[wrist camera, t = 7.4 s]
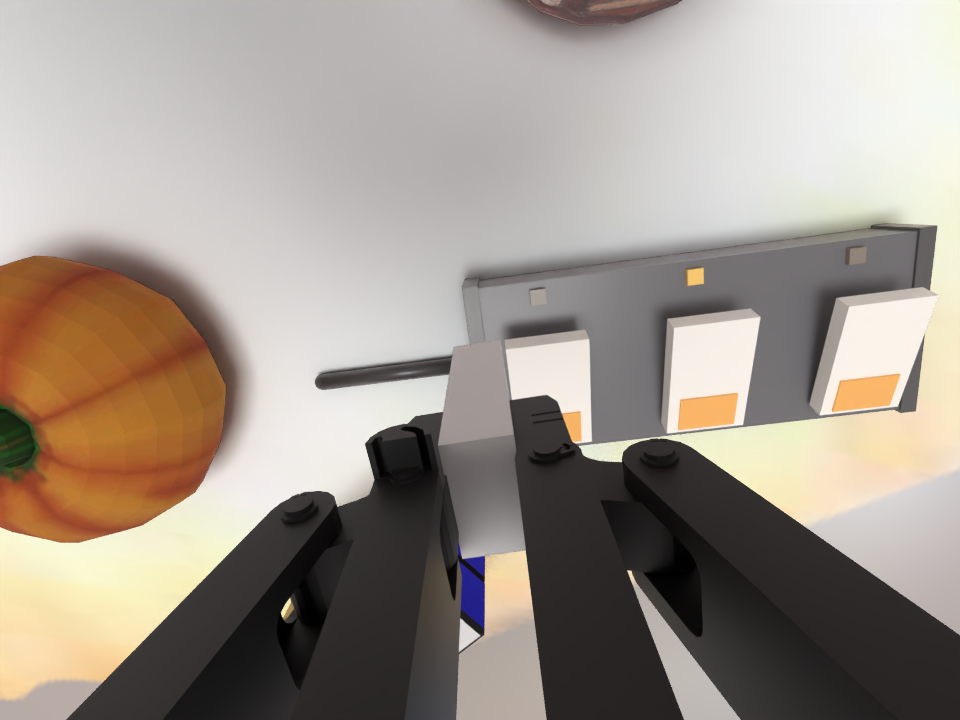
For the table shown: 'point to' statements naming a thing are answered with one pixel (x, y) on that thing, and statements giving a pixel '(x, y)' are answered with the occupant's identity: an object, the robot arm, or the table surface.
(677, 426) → the rocker
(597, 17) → the pottery
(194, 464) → the pumpkin
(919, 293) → the rocker
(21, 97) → the table surface
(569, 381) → the rocker
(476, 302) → the switch bank
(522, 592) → the table surface
